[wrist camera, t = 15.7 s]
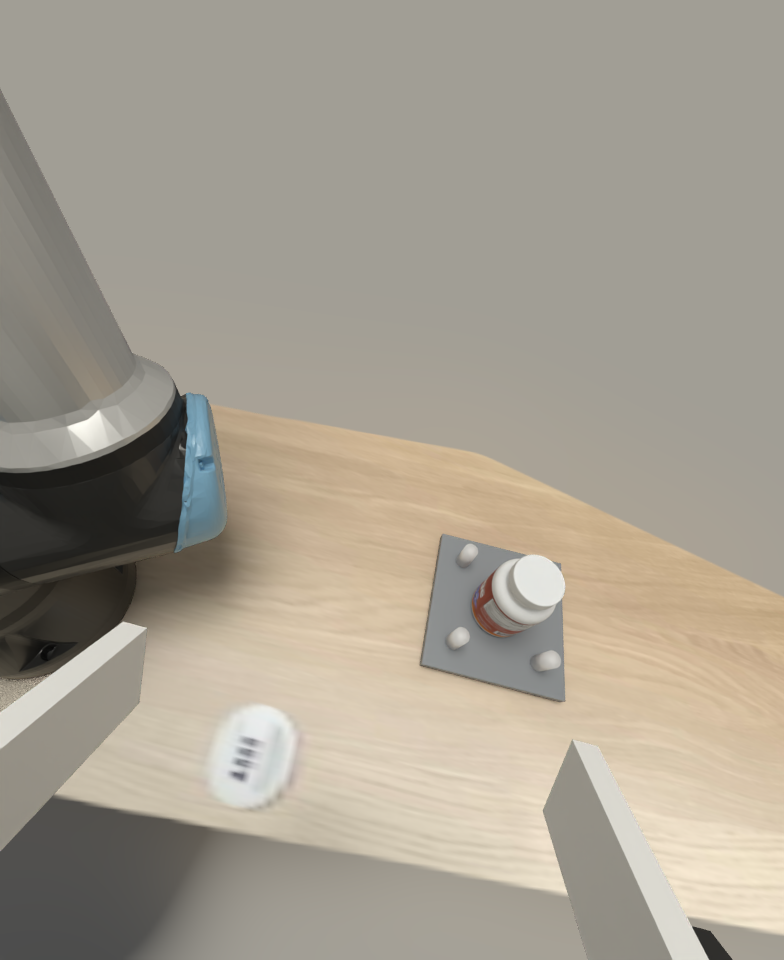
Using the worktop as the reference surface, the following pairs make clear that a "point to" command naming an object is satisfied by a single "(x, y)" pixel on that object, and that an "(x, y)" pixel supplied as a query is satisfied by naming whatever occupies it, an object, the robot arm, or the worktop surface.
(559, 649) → the peg board
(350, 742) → the worktop surface
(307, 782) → the worktop surface
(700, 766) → the worktop surface
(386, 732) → the worktop surface
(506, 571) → the pill bottle
